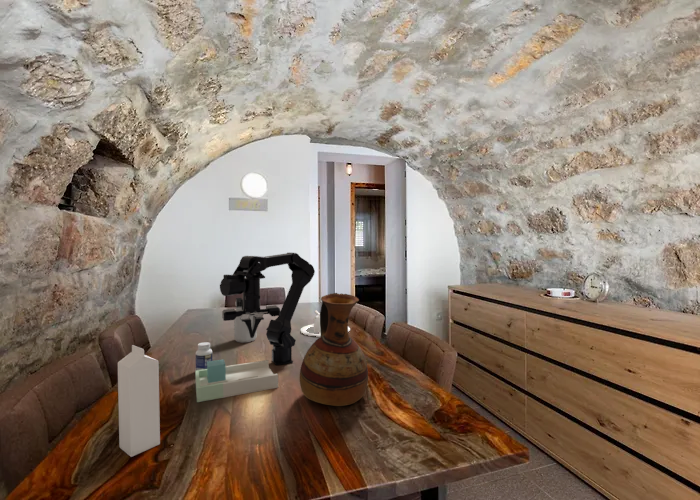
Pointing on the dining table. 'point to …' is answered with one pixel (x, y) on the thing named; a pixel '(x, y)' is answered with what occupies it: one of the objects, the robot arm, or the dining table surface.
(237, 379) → the box
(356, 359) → the ceramic pitcher
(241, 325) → the jar
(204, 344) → the pill bottle
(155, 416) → the milk
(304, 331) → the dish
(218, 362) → the block
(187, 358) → the dining table surface
